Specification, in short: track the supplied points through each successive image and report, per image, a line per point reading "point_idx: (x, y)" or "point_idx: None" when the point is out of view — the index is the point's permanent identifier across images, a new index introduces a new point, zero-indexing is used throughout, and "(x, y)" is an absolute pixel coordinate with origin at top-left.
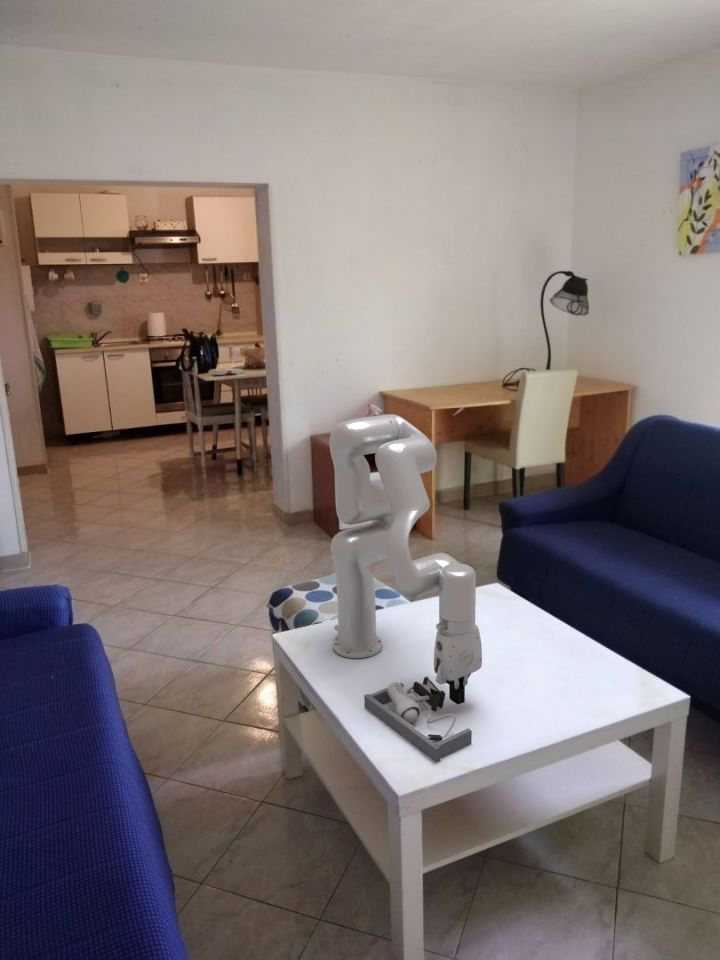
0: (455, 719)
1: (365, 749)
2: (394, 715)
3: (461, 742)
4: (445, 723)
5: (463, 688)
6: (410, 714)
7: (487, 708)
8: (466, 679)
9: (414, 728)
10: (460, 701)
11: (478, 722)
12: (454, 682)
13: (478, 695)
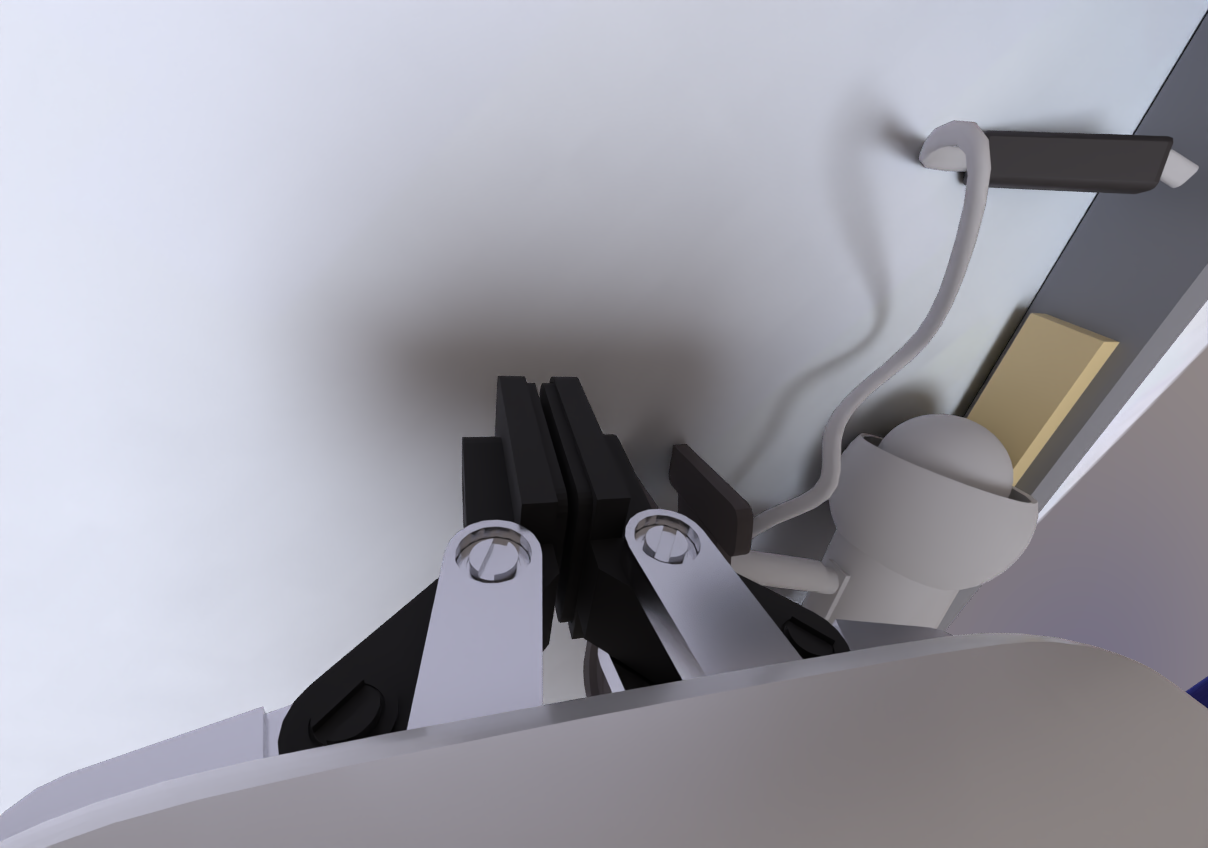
0: (973, 124)
1: (1165, 384)
2: (1037, 498)
3: None
4: (764, 291)
5: (543, 486)
6: (1007, 456)
7: (242, 196)
8: (475, 601)
9: (1177, 304)
10: (566, 389)
11: (547, 60)
12: (754, 599)
13: (187, 436)
